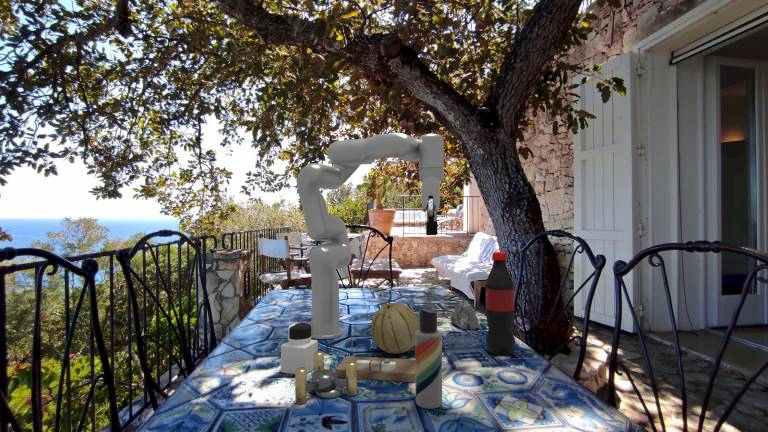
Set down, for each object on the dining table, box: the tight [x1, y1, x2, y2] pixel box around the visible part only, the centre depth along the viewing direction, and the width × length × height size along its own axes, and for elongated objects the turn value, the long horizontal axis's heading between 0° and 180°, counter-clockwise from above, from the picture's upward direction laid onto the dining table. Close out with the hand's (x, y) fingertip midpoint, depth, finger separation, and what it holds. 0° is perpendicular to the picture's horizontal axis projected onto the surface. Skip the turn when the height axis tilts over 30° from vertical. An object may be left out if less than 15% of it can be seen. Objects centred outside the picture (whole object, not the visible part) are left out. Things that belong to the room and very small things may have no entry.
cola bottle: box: [484, 251, 516, 356], centre depth 117 cm, size 8×8×30 cm
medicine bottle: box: [280, 322, 319, 375], centre depth 104 cm, size 7×7×12 cm
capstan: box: [294, 350, 358, 405], centre depth 89 cm, size 12×14×7 cm
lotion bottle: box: [414, 308, 443, 410], centre depth 84 cm, size 6×6×20 cm
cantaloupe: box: [370, 302, 420, 355], centre depth 118 cm, size 15×15×15 cm
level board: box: [335, 355, 415, 383], centre depth 102 cm, size 20×10×5 cm, turn 80°
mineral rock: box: [449, 299, 480, 330], centre depth 148 cm, size 13×11×10 cm
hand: (431, 234), depth 119 cm, fingers open, 4 cm apart
